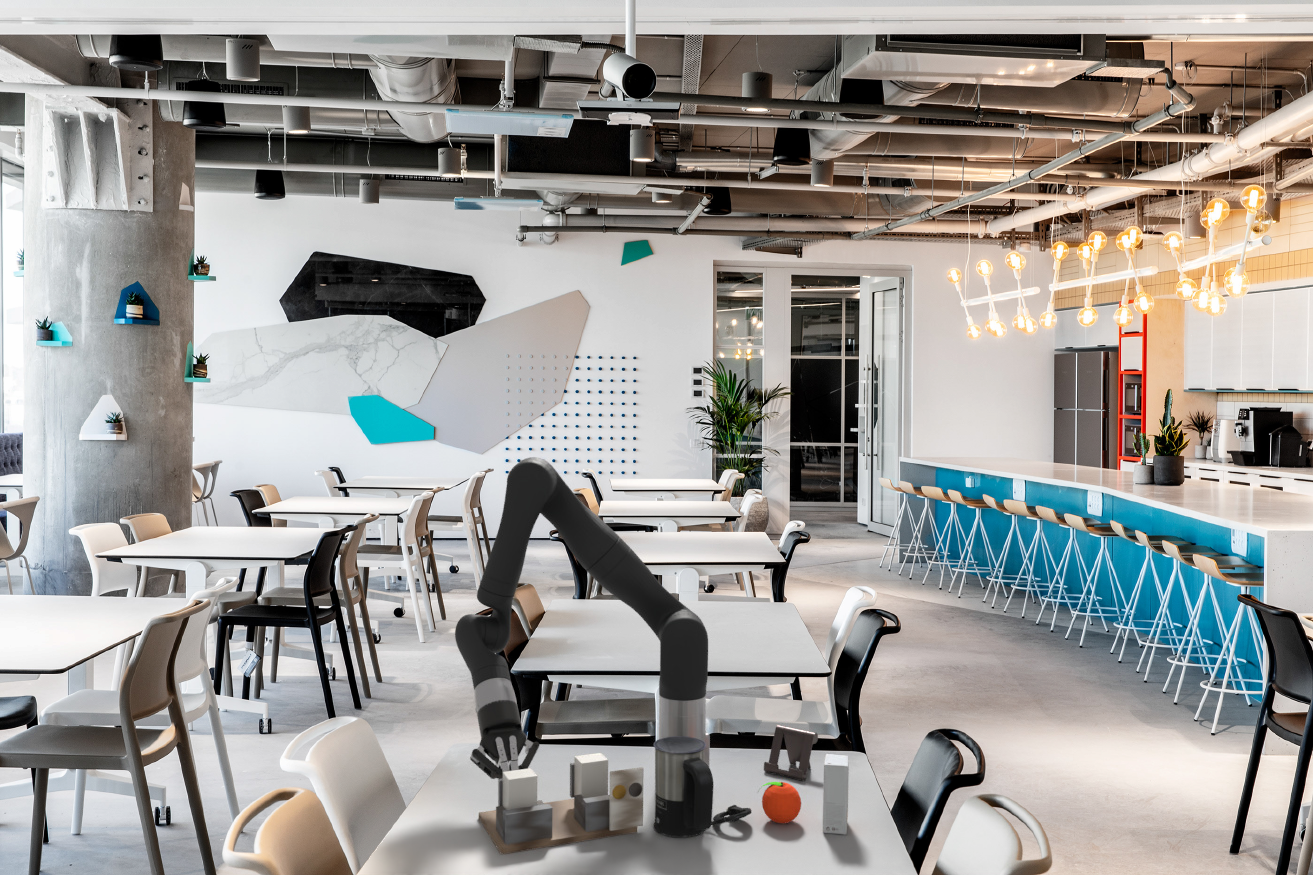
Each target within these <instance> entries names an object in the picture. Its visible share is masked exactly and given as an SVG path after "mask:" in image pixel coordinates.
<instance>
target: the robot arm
mask: <svg viewBox="0 0 1313 875" xmlns="http://www.w3.org/2000/svg"><path fill="white" fill-rule="evenodd" d="M504 495H505V496H504V501H503V502H504V504H503V508H502V509H503V510H502V514H501V519H500V523H499V527H498V529H497V530H498V531H497V533H496V536H495V540H494V542H493V545H492V547H491V550H490V553H489V556H488V559H487V562H486V564H485V567H484V571H483V573H482V577H481V580H480V581H479V582H480V583H479V585H478V590H477V593H476V599H477V600H478V602H479V603H480V604H481V605H483V606H485V607H488V608H490V609H492V613H491V614H492V615H491V616H489V615H481V614H475V613H473V614H472V613H470V614H469V613H468V614H465V615H462V617H461V618H460V619H459V620H458V621H457V623H456V626H455V630H454V638H455V639H454V640H455V643H456V645H457V648H458V649H457V650H458V651H459V653H460V655H461V657H462V659H463V660H464V663H465V664H466V667H467V668H468V670H469V672H470V674H471V679H472V680H471V681H472V686H473V691H474V706H475V713H476V718H477V721H478V726H479V727H478V728H479V734H480V740H479V741H480V742H479V746H478V747H477V748H474V749H473V750H472V752H471V754H470V758H469V760H470V761H471V762H472V763H473V764H475V766H476V767H477V768H479V769H480V770H481V771H482V772H484V773H485V774H486V775H487V776H488V777H489V778H490V779H492V780H495V779H502V778H503V772H506V771H514V770H521V769H529V768H530V765H531V763H532V761H533V760H534V757H535V756H536V754H537V752H538V750H539V748H540V743H539V742H538V741H534V742H533V741H531V740H529V739H527V735H526V733H525V731H523V727H522V722H521V721H522V720H521V718H520V712H519V708H518V704H517V697H516V694H515V690H514V687H513V685H512V680H511V675H510V670H509V666H508V662H507V660H506V659H505V657H503V656H502V655H500V654H498V653H501V652H502V651H503V650H505V648H506V647H507V646H508V644H509V641H510V638H511V628H512V627H511V624H512V620H511V619H512V609H513V600H514V597H515V594H516V591H517V588H518V585H519V581H520V579H521V576H522V575H521V574H522V572H523V567H524V563H525V560H526V554H527V550H528V545H529V542H530V538H531V534H532V532H533V529H534V527H535V524H536V522H537V520H538V518H539V516H540V515H542V517H544V518H545V519H546V520H547V521H548V522H549V523H550V524H551V525H552V526H553V527H554V528H555V529H556V531H557V532H558V533H559V535H560V536H561V537H562V539H563V541H564V542H565V545H566V546H567V547H568V549H569V551H570V552H571V553H572V555H573V556H574V557H575V559H576V560H577V561H578V563H579V564H580V565H581V566H582V568H583V569H585V571H586V572H587V573H588V574H589V575H590V576H592V579H594V580H595V581H596V582H597V583H598V584H599V585H600V586H601V587H603V588H604V590H606V591H607V592H609V593H610V594H612V596H614V597H615V598H617V599H618V600H619V601H620V602H622V603H624V604H626V605H627V606H628V607H630V609H632V610H633V611H635V612H636V613H637V614H638V615H639V616H640V618H641V619H642V620H644V623H646V624H647V626H648V627H649V628H650V629H651V631H652V632H653V634H655V636H656V638H658V640H659V645H660V646H659V660H660V661H659V682H658V740H659V739H662V738H667V737H676V736H683V737H692V738H696V739H700V740H702V741H704V742H705V743H706V747H705V748H704V762H706V763H707V765H708V766H709V767H710V751H711V750H710V746H711V745H710V743H711V742H710V741H711V740H710V739H711V738H710V737H711V736H710V734H709V733H708V732H706V731H707V729H706V727H707V726H706V724H707V723H706V722H707V721H706V720H707V684H708V673H709V672H708V671H709V670H708V669H709V636H708V631H707V629H706V627H705V625H704V623H703V620H702V619H701V618H700V616H698V615H697V614H696V613H695V612H694V611H692V610H691V609H690V608H688V607H687V606H686V605H685V604H683V603H682V602H681V601H680V600H679V599H677V598H676V597H675V596H674V595H673V594H671V592H669V591H668V590H667V589H666V588H665V587H664V586H663V585H662V584H661V583H660V581H658V579H657V578H656V577H655V575H654V574H653V573H652V570H650V569H649V567H648V566H647V565H646V564H645V563H644V562H643V560H642V559H641V558H640V557H639V556H638V554H637V553H636V552H635V551H634V550H633V549H632V548H631V546H630V545H628V544H627V543H626V541H624V539H622V538H621V537H620V535H619V534H617V533H616V532H615V531H614V530H613V529H612V528H611V527H610V526H609V525H608V524H607V523H605V521H604V520H602V519H601V517H599V516H598V515H597V514H596V513H595V512H593V511H592V510H591V509H590V508H589V507H588V506H586V504H584V503H583V501H582V500H580V499H579V498H578V497H577V495H576V494H575V493H574V491H573V490H572V489H571V488H570V487H569V486H568V484H567V483H566V482H565V480H564V479H563V477H562V476H561V475H560V474H559V473H558V471H557V470H556V468H555V467H554V466H553V465H552V464H551V463H550V462H548V461H547V460H546V459H543V458H541V457H534V456H533V457H527V458H524V459H522V460H520V461H519V462H518V463H517V464H515V465H513V467H512V468H511V470H509V473H508V475H507V478H506V487H505V494H504ZM524 747H525V748H524ZM523 748H524V749H525V750H524V753H525V754H526V755H525V757H524V759H523V761H522V763H521V764H519V756H520V754H521V753H522V751H523ZM486 755H487V756H488V757H489V758H488V757H487V756H486ZM491 760H492V761H493V762H492V761H491Z"/></svg>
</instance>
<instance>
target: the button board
mask: <svg viewBox="0 0 1313 875" xmlns="http://www.w3.org/2000/svg"><path fill="white" fill-rule="evenodd" d="M644 772H645V771H644V767H643V766H641V767H635V768H626V769H620V770H618V769H617V770H613V771H612V770H611V771H609V794H608V795H604V796H598V797H591V798H584V797H583V796H582V795H581V794H580V795H574V798H567V799H562V800H554V801H549V802H544V801H543V800H537V806H530V807H523V808H516V809H510V810H506V809H505V808H504V806H498V805H497V806H495V809H493V810H487V811H486V810H485V811H480V812H478V819H479V821H480V823H481V824H482V825H483V828H484V830H485V831H486V833H487V834H488V836H489V838H490V839H491V838H492V839H491V840H492V841H493V843H494V845H495V846H497V847H496V848H497V851H499V852H500V855H505V854H512V853H518V852H524V851H529V850H536V849H541V848H549V847H554V846H560V845H565V844H572V843H578V842H584V841H591V840H597V839H602V838H608V837H615V836H621V835H627V834H633V833H638V827H642V826H644V776H645V775H644Z"/></svg>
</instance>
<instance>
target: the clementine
mask: <svg viewBox="0 0 1313 875" xmlns="http://www.w3.org/2000/svg"><path fill="white" fill-rule="evenodd" d="M765 786H768V787H767V788H765V790H764V793H763V795H762V797H761V799H762V800H761V806H762V809H763V811H764V814H765V816H767V818H768V819H769V820H771V821H772V822H774V823H777V824H788V823H790V822H792V821H794V820H795V819H796V818H797V817H798V815H799V813H800V812H801V808H802V807H801V806H802V800H801V799H802V798H801V796H800V794H799V791H798V790H797V788H796V787H794V786H793V785H792V784H790V783H788V782H785V781H771V782H766V783H765V784H762V787H765ZM759 791H760V789H758V791H757V793H756V794H758V793H759Z"/></svg>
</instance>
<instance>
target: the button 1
mask: <svg viewBox="0 0 1313 875" xmlns="http://www.w3.org/2000/svg"><path fill="white" fill-rule="evenodd" d="M497 779H498V778H497ZM497 782H498V783H497V784H498V786H497V787H498V788H497V789H498V792H497V797H498V798H497V800H498V801H497V803H498V804H497V806H504V808H505V809H506V810H510V809H516V808H523V807H530V806H537V801H538V775H537V774H536V772H535V771H534V770H533V769H532V767H531V768H530V767H528V769H521V770H514V771H506V772H503V778H502V779H498V781H497Z"/></svg>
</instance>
